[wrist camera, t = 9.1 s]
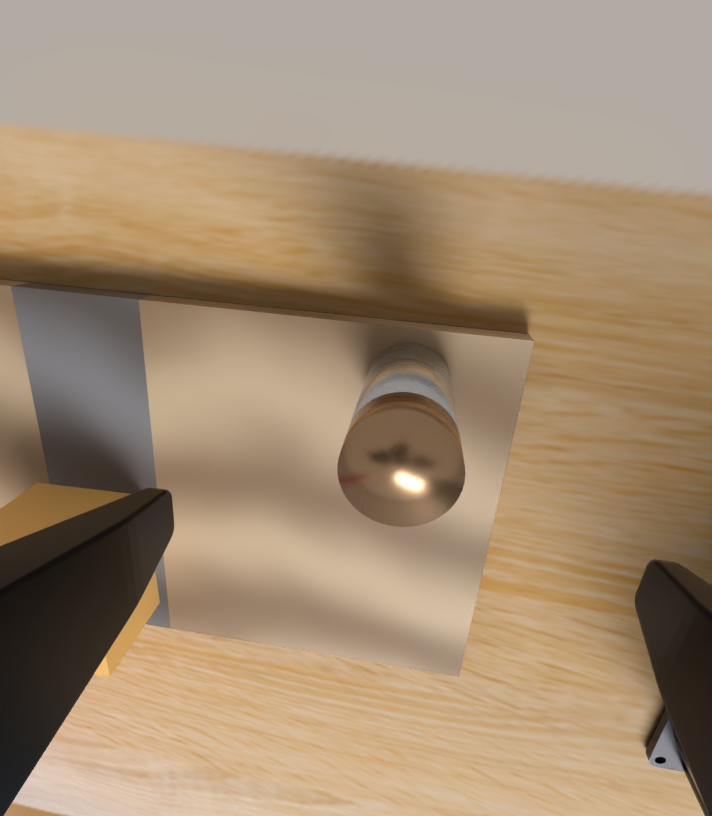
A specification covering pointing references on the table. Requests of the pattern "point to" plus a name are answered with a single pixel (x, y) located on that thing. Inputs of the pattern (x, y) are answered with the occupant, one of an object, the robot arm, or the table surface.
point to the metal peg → (403, 440)
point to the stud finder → (60, 504)
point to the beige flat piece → (258, 460)
